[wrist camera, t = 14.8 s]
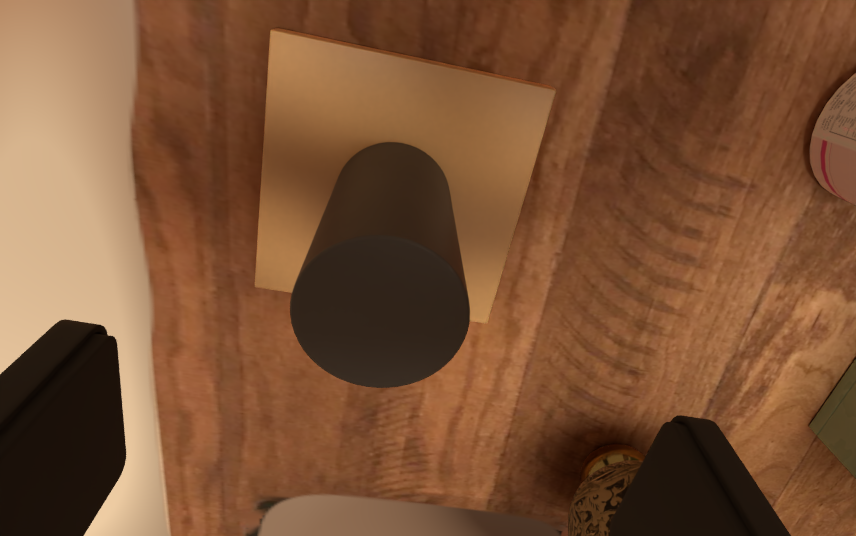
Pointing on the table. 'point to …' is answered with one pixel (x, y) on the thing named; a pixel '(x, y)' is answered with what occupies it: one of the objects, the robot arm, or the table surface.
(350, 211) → the black canister
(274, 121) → the cork trivet
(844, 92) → the beverage can
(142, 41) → the table surface
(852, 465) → the green box
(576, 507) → the cup
